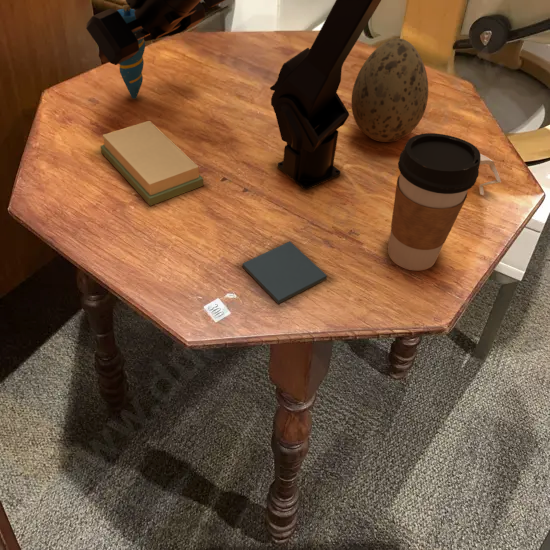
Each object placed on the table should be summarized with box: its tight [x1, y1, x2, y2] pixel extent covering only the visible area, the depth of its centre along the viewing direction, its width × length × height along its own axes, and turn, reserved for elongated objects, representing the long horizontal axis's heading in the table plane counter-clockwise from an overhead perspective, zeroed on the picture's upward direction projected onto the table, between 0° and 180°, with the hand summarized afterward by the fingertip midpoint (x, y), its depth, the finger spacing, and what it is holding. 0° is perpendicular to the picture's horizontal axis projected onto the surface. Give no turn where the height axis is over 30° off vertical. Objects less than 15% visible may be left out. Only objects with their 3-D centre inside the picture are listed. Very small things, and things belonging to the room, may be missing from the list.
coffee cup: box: [387, 132, 481, 272], centre depth 68 cm, size 8×8×15 cm
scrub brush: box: [100, 120, 205, 207], centre depth 82 cm, size 8×14×3 cm, turn 37°
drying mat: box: [241, 241, 328, 304], centre depth 70 cm, size 7×7×1 cm
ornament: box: [117, 0, 146, 100], centre depth 90 cm, size 5×5×15 cm
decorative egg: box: [350, 37, 429, 143], centre depth 86 cm, size 11×11×15 cm
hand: (123, 48), depth 91 cm, fingers open, 9 cm apart
